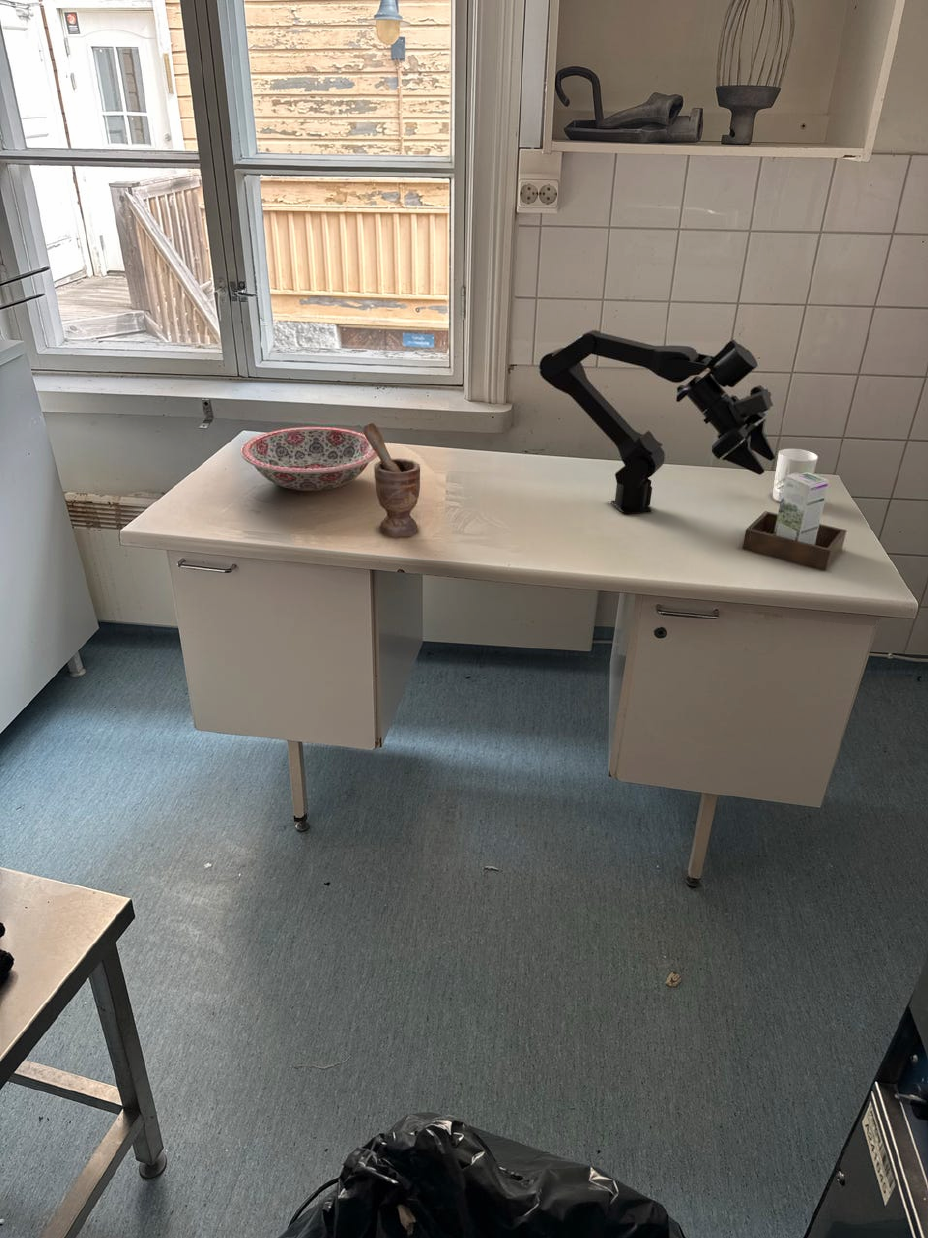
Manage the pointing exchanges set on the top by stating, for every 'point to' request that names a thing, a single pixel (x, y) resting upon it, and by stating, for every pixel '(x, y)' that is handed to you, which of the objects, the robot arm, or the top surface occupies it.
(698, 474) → the top surface
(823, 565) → the crate
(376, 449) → the mortar and pestle
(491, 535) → the top surface
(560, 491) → the top surface
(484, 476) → the top surface
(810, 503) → the syrup box
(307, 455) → the ceramic bowl
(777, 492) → the white cup
